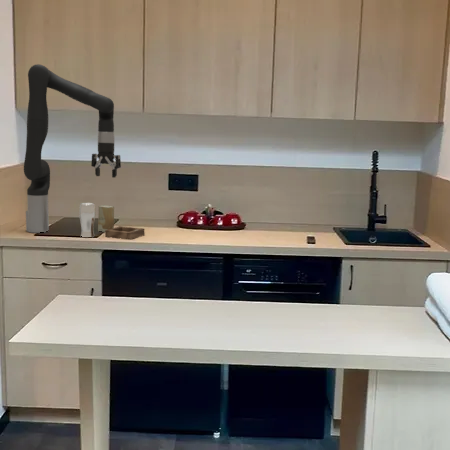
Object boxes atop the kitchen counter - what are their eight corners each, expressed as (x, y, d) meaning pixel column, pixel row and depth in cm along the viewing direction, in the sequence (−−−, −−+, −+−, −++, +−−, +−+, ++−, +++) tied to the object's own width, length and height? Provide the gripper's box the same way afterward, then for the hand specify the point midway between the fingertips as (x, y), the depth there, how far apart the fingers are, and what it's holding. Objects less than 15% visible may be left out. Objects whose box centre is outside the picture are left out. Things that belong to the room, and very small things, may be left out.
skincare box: (97, 231, 293) (97, 206, 291) (103, 230, 296) (103, 205, 294) (108, 233, 290) (108, 207, 288) (114, 231, 294) (114, 206, 292)
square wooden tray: (105, 236, 280) (105, 229, 280) (119, 232, 292) (119, 225, 292) (130, 239, 276) (130, 232, 275) (144, 235, 288) (144, 228, 287)
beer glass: (97, 235, 283) (97, 203, 280) (92, 238, 276) (92, 205, 273) (82, 234, 283) (82, 202, 281) (77, 237, 276) (77, 204, 274)
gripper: (88, 141, 285) (88, 176, 288) (115, 142, 280) (115, 178, 283) (97, 140, 292) (97, 175, 295) (123, 142, 287) (123, 177, 290)
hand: (106, 176), depth 289 cm, fingers open, 8 cm apart
